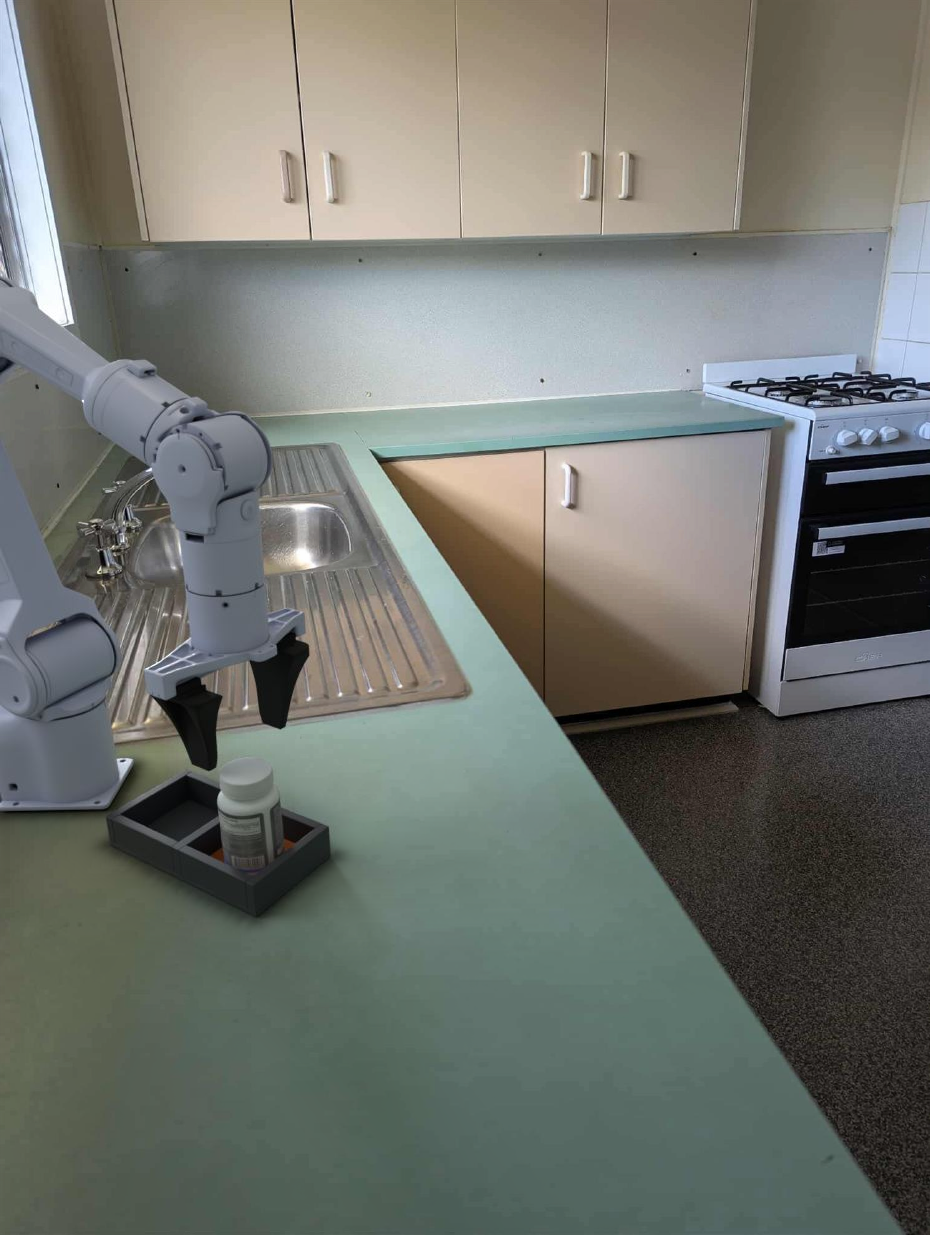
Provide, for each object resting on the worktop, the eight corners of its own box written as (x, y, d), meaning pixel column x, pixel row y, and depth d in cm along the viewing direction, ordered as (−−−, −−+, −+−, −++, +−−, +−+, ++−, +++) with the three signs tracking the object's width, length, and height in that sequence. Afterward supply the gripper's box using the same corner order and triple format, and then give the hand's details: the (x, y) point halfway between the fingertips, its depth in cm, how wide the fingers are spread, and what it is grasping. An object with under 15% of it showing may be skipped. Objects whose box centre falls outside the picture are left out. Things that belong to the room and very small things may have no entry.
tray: (110, 845, 72) (105, 815, 71) (190, 796, 79) (186, 768, 78) (256, 917, 65) (253, 885, 63) (330, 856, 71) (329, 826, 70)
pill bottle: (260, 835, 73) (251, 747, 70) (297, 857, 70) (290, 767, 67) (211, 862, 69) (201, 771, 66) (249, 887, 67) (239, 793, 64)
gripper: (186, 626, 57) (206, 803, 62) (331, 567, 68) (338, 720, 73) (115, 604, 60) (140, 774, 65) (264, 551, 72) (275, 699, 77)
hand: (240, 744), depth 70 cm, fingers open, 7 cm apart
